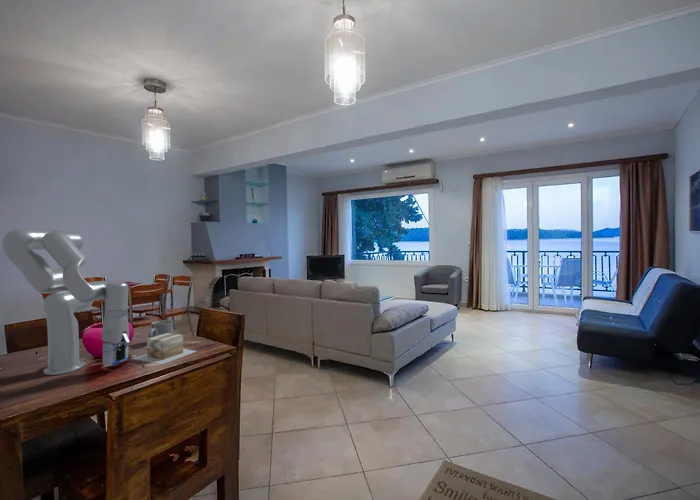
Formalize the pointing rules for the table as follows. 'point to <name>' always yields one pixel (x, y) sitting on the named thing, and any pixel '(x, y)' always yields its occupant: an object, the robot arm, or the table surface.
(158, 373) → the table surface
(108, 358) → the medicine box
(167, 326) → the coffee mug
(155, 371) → the table surface
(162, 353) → the oak slab
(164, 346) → the birch slab
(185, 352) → the base board
